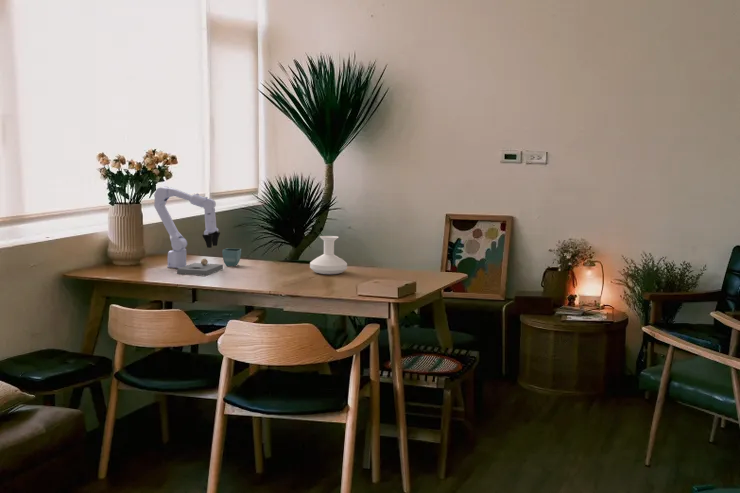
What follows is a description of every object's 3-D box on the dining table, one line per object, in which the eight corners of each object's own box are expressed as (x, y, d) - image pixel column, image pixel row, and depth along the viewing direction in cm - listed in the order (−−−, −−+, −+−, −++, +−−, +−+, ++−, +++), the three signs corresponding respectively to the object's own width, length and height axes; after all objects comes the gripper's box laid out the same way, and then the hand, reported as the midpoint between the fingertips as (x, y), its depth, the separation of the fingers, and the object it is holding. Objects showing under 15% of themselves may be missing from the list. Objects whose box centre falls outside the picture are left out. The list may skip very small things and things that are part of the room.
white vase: (342, 276, 420) (343, 240, 418) (305, 274, 424) (305, 238, 422) (351, 271, 440) (351, 235, 437) (315, 269, 444) (315, 234, 441)
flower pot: (241, 264, 451) (241, 248, 450) (237, 267, 442) (237, 250, 441) (226, 264, 452) (226, 248, 451) (221, 266, 443) (221, 250, 442)
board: (177, 273, 416) (177, 268, 416) (194, 267, 438) (194, 262, 437) (206, 275, 413) (206, 270, 413) (222, 269, 435) (222, 264, 434)
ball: (199, 265, 429) (199, 259, 428) (202, 264, 432) (202, 258, 432) (206, 265, 428) (206, 259, 428) (208, 265, 431) (208, 258, 431)
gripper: (212, 222, 426) (213, 248, 427) (222, 219, 440) (224, 244, 442) (199, 223, 427) (201, 248, 429) (210, 220, 441) (212, 244, 443)
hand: (212, 246), depth 435 cm, fingers open, 7 cm apart
